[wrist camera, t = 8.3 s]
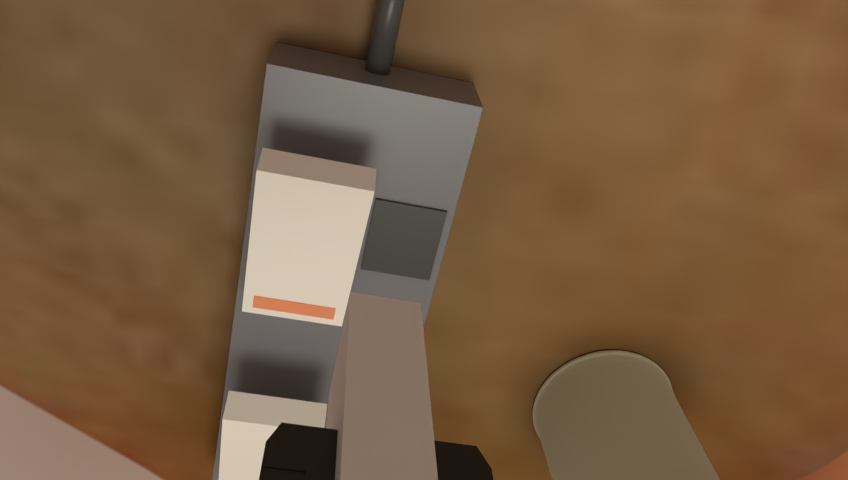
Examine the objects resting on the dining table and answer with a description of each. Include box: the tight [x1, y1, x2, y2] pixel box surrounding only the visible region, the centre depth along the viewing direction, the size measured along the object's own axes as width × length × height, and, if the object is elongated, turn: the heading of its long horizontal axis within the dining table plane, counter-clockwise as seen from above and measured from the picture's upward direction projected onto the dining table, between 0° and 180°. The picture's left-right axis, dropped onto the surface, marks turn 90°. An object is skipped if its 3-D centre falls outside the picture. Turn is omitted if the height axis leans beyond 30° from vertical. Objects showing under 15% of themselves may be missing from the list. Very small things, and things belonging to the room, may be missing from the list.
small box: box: [219, 391, 327, 480], centre depth 41 cm, size 9×5×2 cm, turn 168°
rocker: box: [242, 148, 376, 327], centre depth 35 cm, size 9×5×2 cm, turn 168°
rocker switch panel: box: [213, 0, 483, 480], centre depth 40 cm, size 34×10×5 cm, turn 167°
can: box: [532, 350, 720, 480], centre depth 44 cm, size 9×9×12 cm
